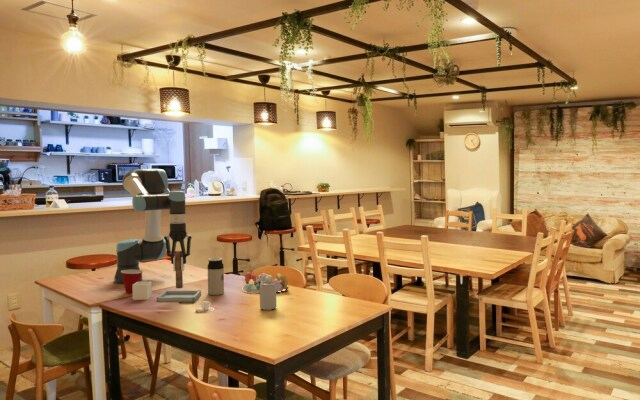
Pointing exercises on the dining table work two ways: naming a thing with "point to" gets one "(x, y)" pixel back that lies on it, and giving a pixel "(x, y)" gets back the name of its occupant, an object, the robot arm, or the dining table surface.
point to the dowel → (178, 269)
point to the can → (267, 295)
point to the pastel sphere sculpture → (255, 288)
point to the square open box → (142, 290)
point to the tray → (180, 296)
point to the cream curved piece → (204, 307)
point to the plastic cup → (131, 279)
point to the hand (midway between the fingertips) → (178, 270)
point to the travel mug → (215, 276)
